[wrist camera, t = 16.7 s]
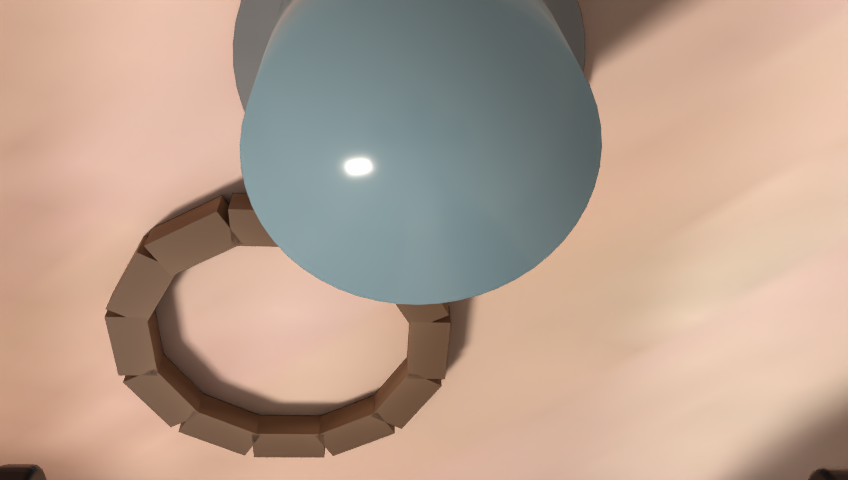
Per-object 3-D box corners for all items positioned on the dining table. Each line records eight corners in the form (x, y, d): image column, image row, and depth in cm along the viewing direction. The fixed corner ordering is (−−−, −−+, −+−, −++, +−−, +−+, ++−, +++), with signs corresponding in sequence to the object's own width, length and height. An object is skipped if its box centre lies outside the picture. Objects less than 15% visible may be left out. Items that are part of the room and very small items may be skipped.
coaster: (613, -109, 17) (617, -106, 17) (552, 214, 22) (554, 221, 22) (219, -133, 16) (216, -129, 16) (248, 205, 21) (246, 213, 21)
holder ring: (459, 199, 21) (462, 215, 21) (435, 439, 27) (436, 457, 27) (87, 189, 21) (77, 205, 20) (144, 438, 27) (138, 456, 26)
